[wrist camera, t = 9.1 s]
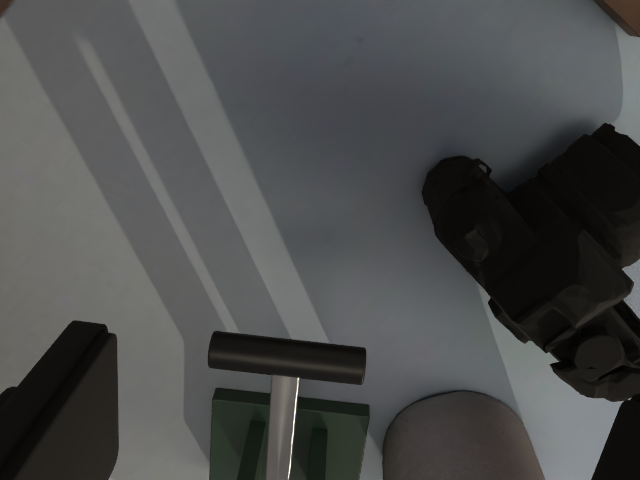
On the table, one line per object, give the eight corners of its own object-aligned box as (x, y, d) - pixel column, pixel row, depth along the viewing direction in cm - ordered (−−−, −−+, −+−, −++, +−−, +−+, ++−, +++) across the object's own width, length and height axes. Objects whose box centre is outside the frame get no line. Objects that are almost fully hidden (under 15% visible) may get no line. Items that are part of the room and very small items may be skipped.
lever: (217, 314, 24) (204, 358, 22) (366, 331, 24) (366, 377, 22) (220, 540, 34) (211, 584, 32) (326, 552, 34) (324, 597, 32)
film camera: (707, 249, 34) (822, 334, 26) (565, 351, 37) (627, 457, 28) (537, 51, 30) (607, 75, 22) (394, 182, 33) (409, 247, 25)
